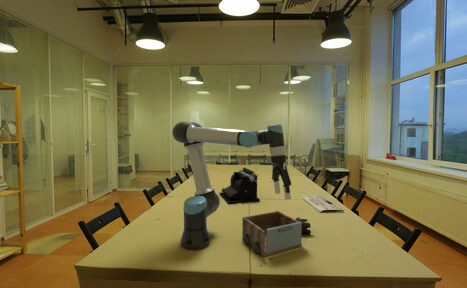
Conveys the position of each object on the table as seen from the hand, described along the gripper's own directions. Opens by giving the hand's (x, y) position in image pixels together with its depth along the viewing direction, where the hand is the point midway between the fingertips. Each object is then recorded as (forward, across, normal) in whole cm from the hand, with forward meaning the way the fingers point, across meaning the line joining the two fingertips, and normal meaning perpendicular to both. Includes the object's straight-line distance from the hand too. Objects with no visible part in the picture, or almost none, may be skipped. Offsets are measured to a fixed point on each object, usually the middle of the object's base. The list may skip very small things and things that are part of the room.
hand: (282, 196), depth 116 cm
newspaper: (+28, +59, -52) cm, 84 cm away
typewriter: (+20, +88, +9) cm, 90 cm away
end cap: (+27, +15, -15) cm, 34 cm away
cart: (+24, +5, +7) cm, 26 cm away
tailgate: (+23, -5, +4) cm, 24 cm away
